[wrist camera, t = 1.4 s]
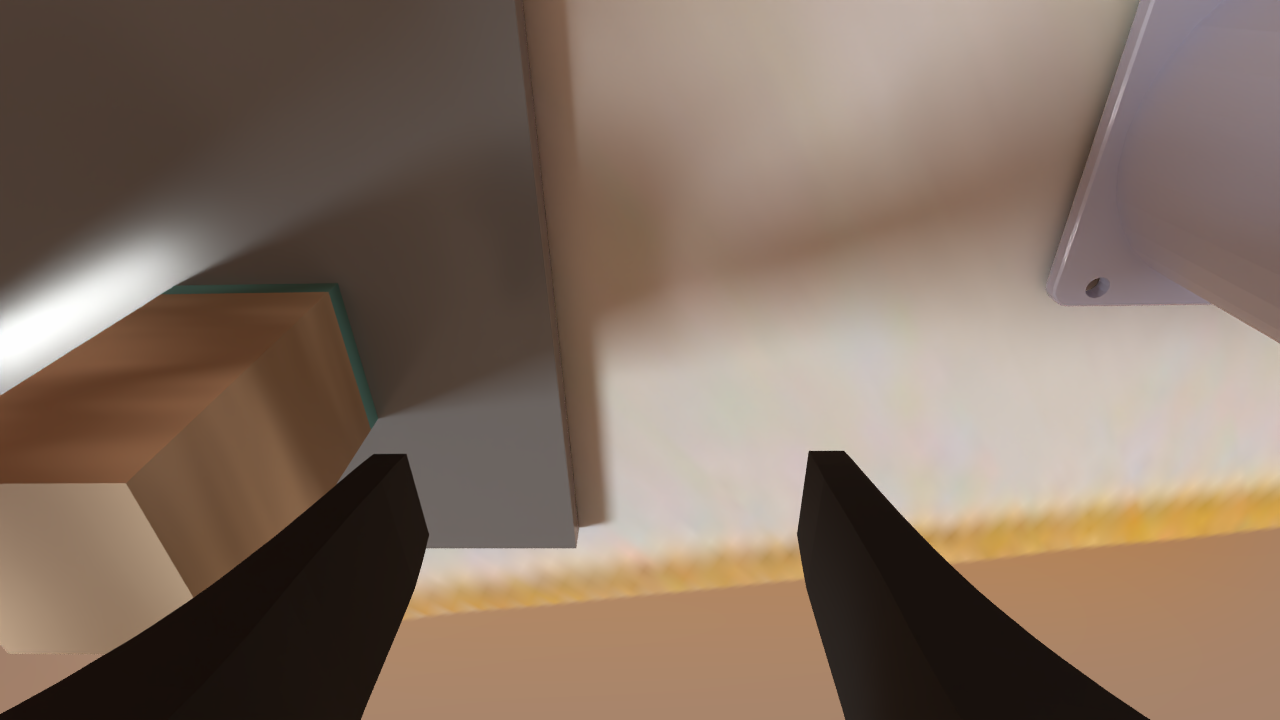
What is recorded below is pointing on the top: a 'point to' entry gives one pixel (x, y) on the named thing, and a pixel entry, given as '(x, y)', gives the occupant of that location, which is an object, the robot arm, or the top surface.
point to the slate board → (306, 213)
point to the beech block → (169, 456)
